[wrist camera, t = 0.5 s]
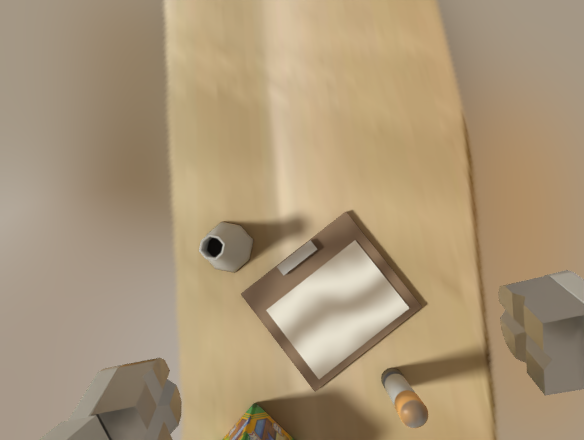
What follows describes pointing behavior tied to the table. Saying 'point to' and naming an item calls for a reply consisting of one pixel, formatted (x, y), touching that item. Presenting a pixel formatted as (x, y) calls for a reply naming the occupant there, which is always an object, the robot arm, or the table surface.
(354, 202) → the table surface
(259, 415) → the chalk box
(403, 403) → the marker
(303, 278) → the clipboard
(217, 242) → the flask
